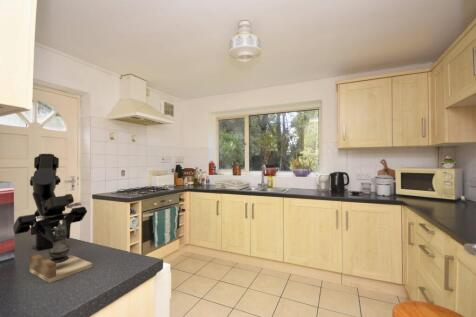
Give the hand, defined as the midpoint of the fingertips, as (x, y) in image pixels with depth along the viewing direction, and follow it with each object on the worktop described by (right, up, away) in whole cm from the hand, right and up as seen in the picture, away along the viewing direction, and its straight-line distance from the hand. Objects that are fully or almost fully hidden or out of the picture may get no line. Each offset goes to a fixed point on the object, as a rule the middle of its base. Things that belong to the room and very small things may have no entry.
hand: (61, 240), depth 73 cm
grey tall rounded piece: (-1, -7, +1) cm, 7 cm away
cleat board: (-1, -10, +2) cm, 11 cm away
